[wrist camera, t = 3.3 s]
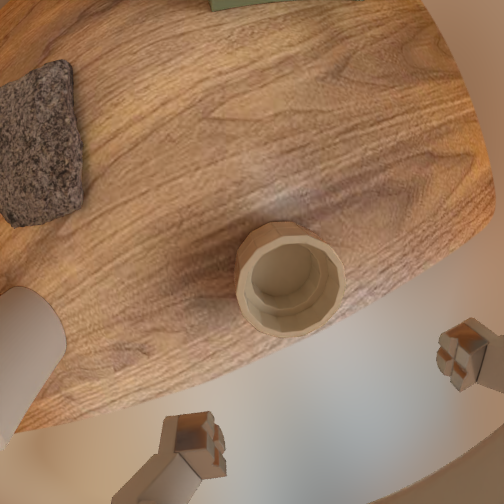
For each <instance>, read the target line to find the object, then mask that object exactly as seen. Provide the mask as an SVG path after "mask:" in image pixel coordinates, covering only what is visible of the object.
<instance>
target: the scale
mask: <svg viewBox="0 0 504 504" xmlns="http://www.w3.org/2000/svg"><path fill="white" fill-rule="evenodd" d="M208 1H209V4H210V7H211V10H212V12H214V11H218V10H223V9H229V8H234V7H240V6H247V5H253V4H261V3H270V2H280V1H294V0H208ZM355 1H364V0H355Z"/></svg>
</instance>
